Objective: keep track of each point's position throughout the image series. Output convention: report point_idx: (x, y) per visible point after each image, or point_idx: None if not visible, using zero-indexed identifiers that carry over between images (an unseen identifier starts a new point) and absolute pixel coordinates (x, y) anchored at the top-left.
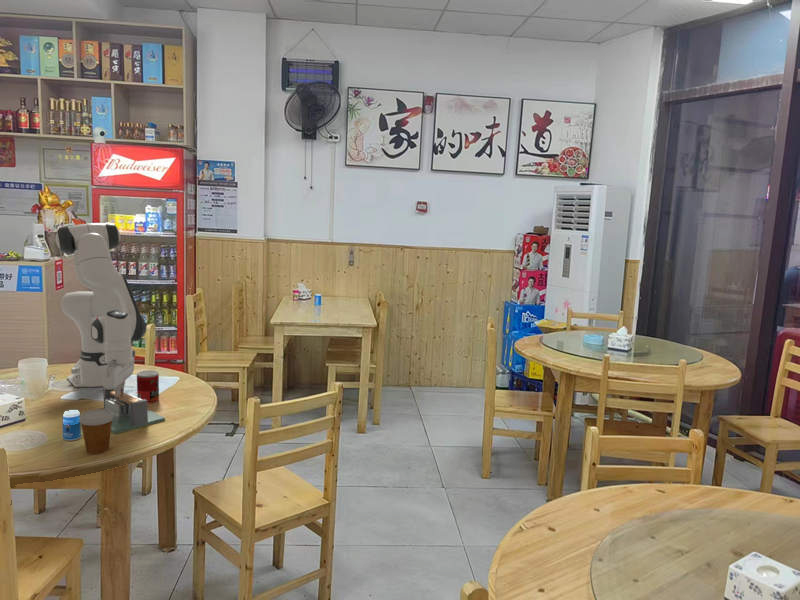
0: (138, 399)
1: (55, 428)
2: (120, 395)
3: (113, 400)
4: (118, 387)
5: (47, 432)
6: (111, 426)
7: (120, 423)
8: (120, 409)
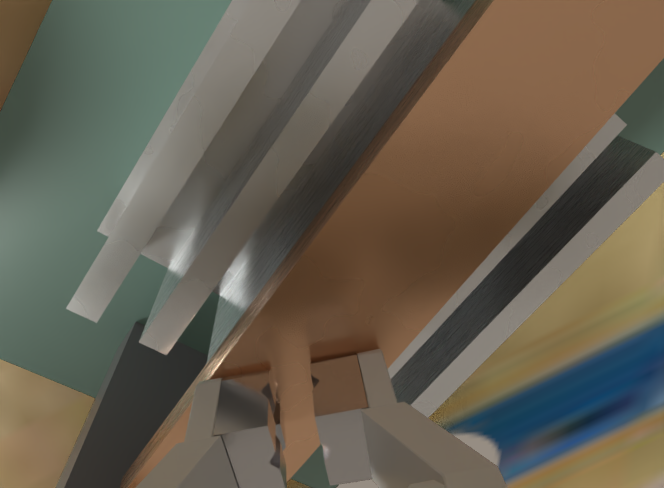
0: (283, 27)
1: (569, 484)
2: (371, 340)
3: (402, 364)
4: (489, 476)
5: (634, 484)
6: (640, 138)
7: None
8: (624, 142)
